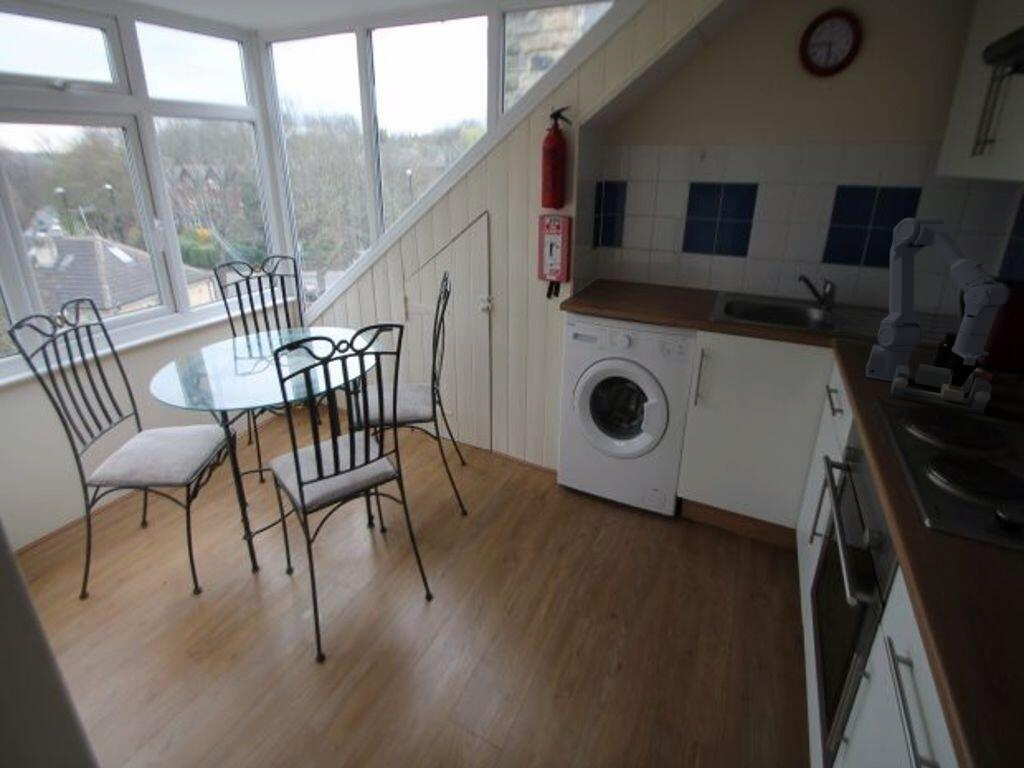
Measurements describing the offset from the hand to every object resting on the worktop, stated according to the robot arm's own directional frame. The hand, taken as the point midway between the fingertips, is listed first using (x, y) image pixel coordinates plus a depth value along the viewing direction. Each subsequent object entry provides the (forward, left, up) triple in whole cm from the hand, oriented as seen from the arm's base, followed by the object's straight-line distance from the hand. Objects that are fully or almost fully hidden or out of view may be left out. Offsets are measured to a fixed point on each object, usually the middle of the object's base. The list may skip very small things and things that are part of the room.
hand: (955, 384), depth 137 cm
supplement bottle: (+1, +27, -5) cm, 28 cm away
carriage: (0, 0, -4) cm, 4 cm away
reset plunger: (+5, 0, +3) cm, 6 cm away
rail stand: (-3, 0, -5) cm, 6 cm away
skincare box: (+5, +13, -3) cm, 15 cm away
